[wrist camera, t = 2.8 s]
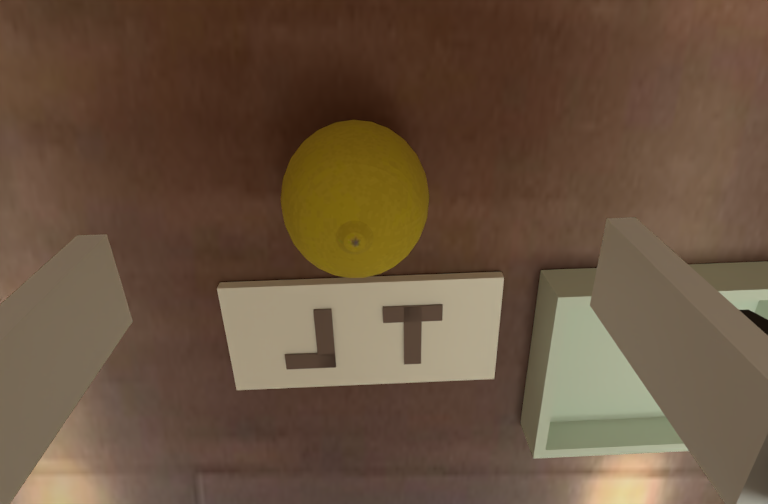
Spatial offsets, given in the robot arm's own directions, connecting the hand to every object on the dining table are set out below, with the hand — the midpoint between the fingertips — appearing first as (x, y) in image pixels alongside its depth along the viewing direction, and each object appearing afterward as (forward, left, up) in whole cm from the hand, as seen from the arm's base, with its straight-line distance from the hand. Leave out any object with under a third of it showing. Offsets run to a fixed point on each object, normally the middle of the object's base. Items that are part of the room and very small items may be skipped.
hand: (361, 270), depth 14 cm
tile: (0, -9, -10) cm, 14 cm away
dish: (+15, -11, -10) cm, 21 cm away
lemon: (0, 0, -11) cm, 11 cm away
